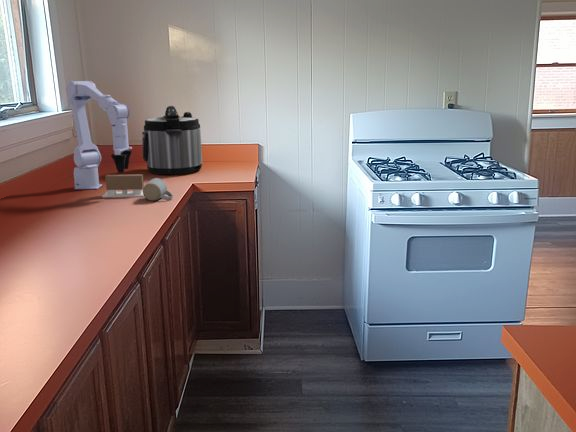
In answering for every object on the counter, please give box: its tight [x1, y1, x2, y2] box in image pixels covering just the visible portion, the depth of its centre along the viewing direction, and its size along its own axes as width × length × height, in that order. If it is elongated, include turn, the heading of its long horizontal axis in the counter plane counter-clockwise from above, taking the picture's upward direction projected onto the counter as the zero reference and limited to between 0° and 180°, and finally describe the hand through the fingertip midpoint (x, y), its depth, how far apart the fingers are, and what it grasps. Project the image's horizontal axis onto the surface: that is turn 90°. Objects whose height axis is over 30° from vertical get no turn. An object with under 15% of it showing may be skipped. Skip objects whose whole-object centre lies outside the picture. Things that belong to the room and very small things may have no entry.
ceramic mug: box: [142, 177, 174, 202], centre depth 209 cm, size 11×8×8 cm
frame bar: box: [104, 173, 145, 191], centre depth 216 cm, size 14×3×6 cm, turn 94°
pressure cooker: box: [141, 105, 203, 176], centre depth 266 cm, size 30×28×32 cm
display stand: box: [101, 189, 145, 199], centre depth 217 cm, size 16×8×2 cm, turn 94°
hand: (123, 170), depth 215 cm, fingers open, 7 cm apart
